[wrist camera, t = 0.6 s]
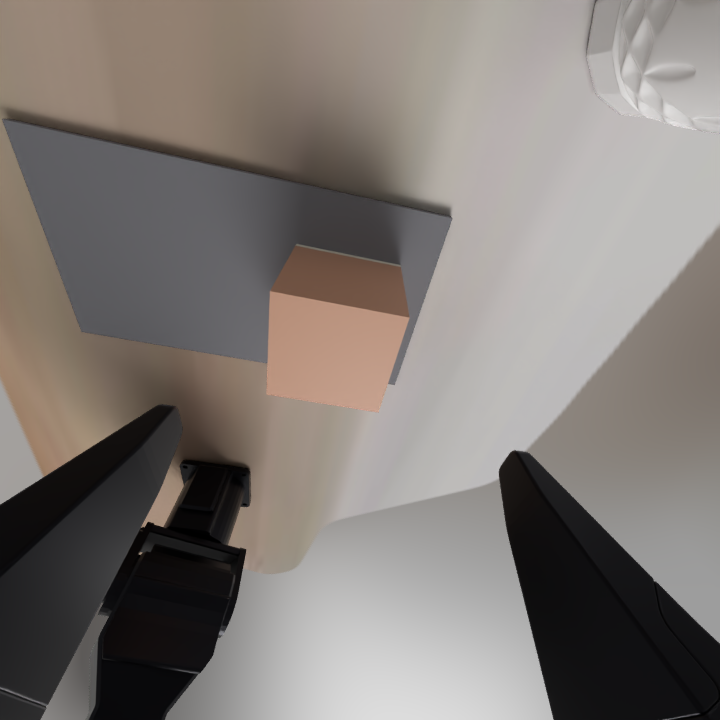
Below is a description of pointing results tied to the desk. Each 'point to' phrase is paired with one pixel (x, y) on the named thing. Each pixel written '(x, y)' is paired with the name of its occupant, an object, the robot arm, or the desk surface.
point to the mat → (199, 240)
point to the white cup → (658, 60)
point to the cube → (335, 328)
